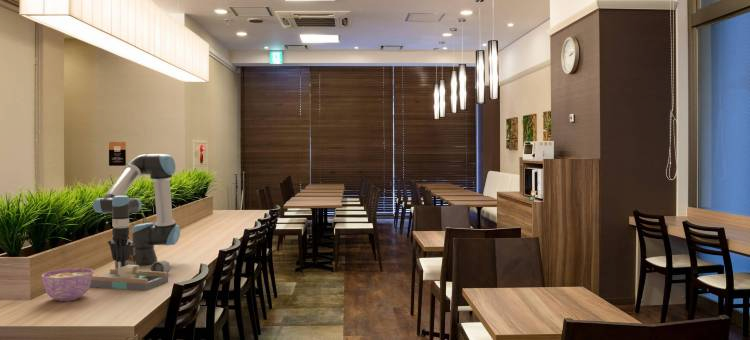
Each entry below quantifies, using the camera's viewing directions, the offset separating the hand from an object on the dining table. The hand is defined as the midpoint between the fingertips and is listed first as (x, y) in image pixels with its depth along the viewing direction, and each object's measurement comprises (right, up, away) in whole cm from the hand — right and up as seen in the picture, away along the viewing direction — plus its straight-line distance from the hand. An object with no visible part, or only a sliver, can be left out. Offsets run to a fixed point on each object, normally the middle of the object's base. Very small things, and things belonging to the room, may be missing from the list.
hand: (120, 274), depth 260 cm
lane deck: (+4, -5, -1) cm, 6 cm away
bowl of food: (-10, -6, -27) cm, 29 cm away
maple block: (+5, -2, -1) cm, 5 cm away
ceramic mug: (+11, -4, +19) cm, 23 cm away
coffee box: (-6, -4, +17) cm, 18 cm away
